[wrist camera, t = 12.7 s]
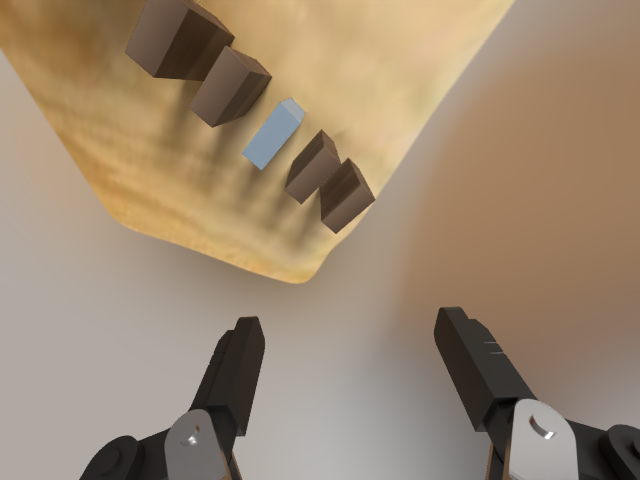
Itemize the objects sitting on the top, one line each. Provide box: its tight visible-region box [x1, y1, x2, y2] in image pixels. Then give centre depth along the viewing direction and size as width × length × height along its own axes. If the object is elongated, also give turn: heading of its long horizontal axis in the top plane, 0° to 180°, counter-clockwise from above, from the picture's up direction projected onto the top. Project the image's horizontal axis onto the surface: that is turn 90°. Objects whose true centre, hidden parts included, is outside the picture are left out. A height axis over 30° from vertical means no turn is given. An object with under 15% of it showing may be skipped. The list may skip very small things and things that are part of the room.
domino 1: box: [125, 0, 235, 81], centre depth 20 cm, size 2×5×10 cm, turn 136°
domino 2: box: [188, 46, 272, 128], centre depth 22 cm, size 2×5×10 cm, turn 136°
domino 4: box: [285, 129, 341, 204], centre depth 25 cm, size 2×5×10 cm, turn 136°
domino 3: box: [242, 98, 305, 170], centre depth 23 cm, size 2×5×10 cm, turn 136°
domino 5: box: [320, 158, 375, 234], centre depth 27 cm, size 2×5×10 cm, turn 136°
